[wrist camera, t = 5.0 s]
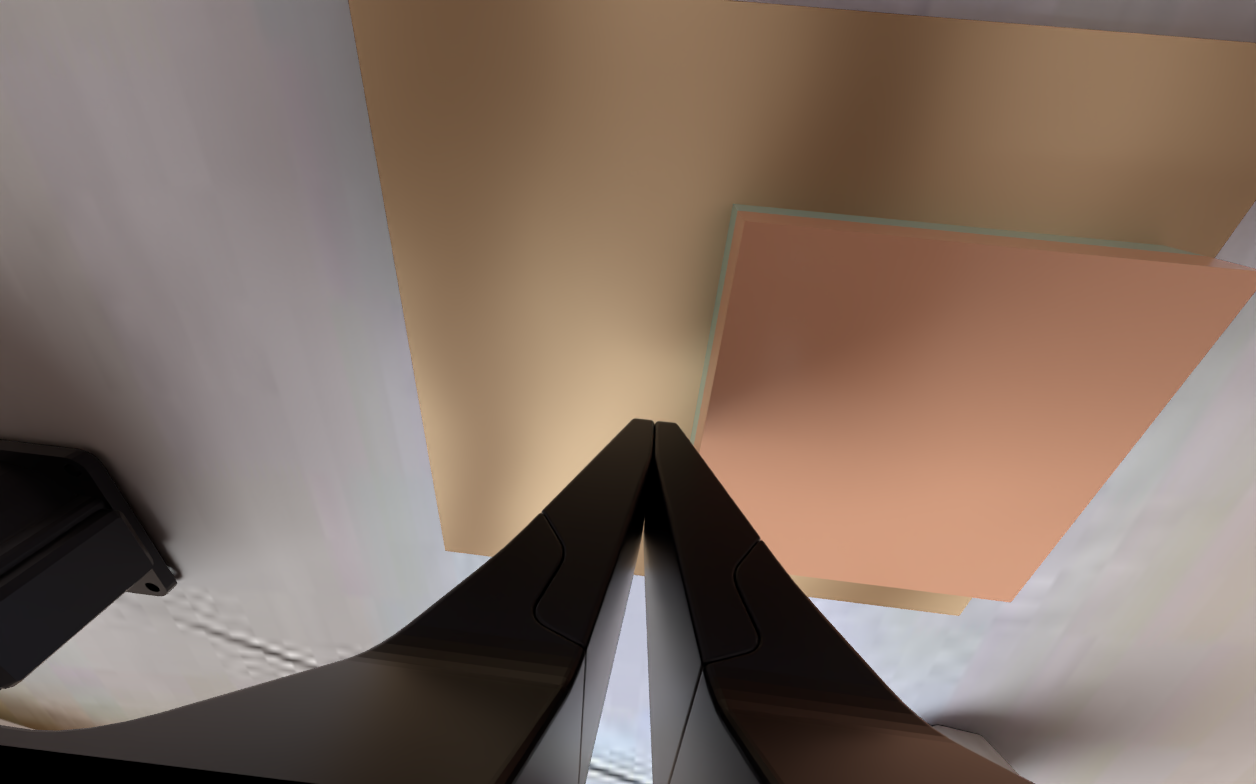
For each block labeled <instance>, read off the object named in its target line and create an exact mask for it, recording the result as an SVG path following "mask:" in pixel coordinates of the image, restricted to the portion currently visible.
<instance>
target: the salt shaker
mask: <svg viewBox="0 0 1256 784" xmlns="http://www.w3.org/2000/svg"><path fill="white" fill-rule="evenodd" d="M932 727H933V728H934V729H936V730H937V731H939V732H940V733H942V734H943V735H945V736H946V737H948V738H949V739H951V740H953V741H955V742H957V743H958V744H960V745H962V746H964V747H966V748H968V749H970V750H972V751H974V752H975V753H977V754H979V755H981V756H983V757H985V758H987V759H989V760H991V761H993V762H995V763H997V764H998V765H1000V766H1002V767H1004V768H1006V769H1008V770H1010V771H1012V772H1014V773H1016V774H1018V773H1017V772H1016V771H1015V770H1014V769H1013V768H1012V767H1011V766H1010V765H1009V764H1008V763H1007V762H1006V761H1005V760H1004V759H1003V758H1002V757H1001V755H1000V754H999V753H998V752H997V751H996V750H995V749H994V748H993V747H992V746H991V745H990V744H989V743H988V742H987V741H986V740H985V739H984V738H983V737H982V736H981V735H978V734H974V733H969V732H965V731H961V730H957V729H953V728H949V727H945V726H940V725H936V726H932ZM1018 775H1019V774H1018Z"/></svg>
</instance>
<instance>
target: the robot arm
mask: <svg viewBox="0 0 1256 784" xmlns="http://www.w3.org/2000/svg"><path fill="white" fill-rule="evenodd" d="M644 518H645V519H644ZM643 526H644V533H643ZM642 533H643V548H644V573H645V598H646V624H647V649H648V674H649V699H650V724H651V749H652V774H653V784H1035V783H1033V782H1031V781H1029V780H1027V779H1025V778H1023V777H1021V776H1020V775H1018V774H1016V773H1014V772H1012V771H1010V770H1008V769H1006V768H1004V767H1002V766H1000V765H998V764H997V763H995V762H993V761H991V760H989V759H987V758H985V757H983V756H981V755H979V754H977V753H975V752H974V751H972V750H970V749H968V748H966V747H964V746H962V745H960V744H958V743H957V742H955V741H953V740H951V739H949V738H948V737H946V736H945V735H943V734H942V733H940V732H939V731H937V730H936V729H934V728H933V727H932V726H930V725H929V724H928V723H927V722H925V721H924V720H923V719H921V718H920V717H919V716H918V715H917V714H916V713H914V712H913V711H912V710H911V709H910V708H909V707H908V706H907V705H906V704H905V703H903V702H902V701H901V700H900V699H899V697H898V696H897V695H896V694H895V693H894V692H893V691H892V690H891V689H890V688H889V687H888V686H887V685H886V684H885V683H884V682H883V680H882V679H881V678H880V677H879V676H878V675H877V674H876V673H875V672H874V670H873V669H872V668H871V667H870V666H869V665H868V664H867V663H866V662H865V661H864V659H863V658H862V657H861V656H860V655H859V654H858V653H857V652H856V651H855V650H854V648H853V647H852V646H851V645H850V644H849V643H848V642H847V641H846V640H845V638H844V637H843V636H842V635H841V634H840V633H839V632H838V631H837V630H836V629H835V627H834V626H833V625H832V624H831V623H830V622H829V621H828V620H827V619H826V617H825V616H824V615H823V614H822V613H821V612H820V611H819V610H818V608H817V607H816V606H815V605H814V604H813V603H812V602H811V600H810V599H809V598H808V597H807V596H806V595H805V593H804V592H803V591H802V590H801V589H800V588H799V587H798V585H797V584H796V583H795V582H794V581H793V579H792V578H791V577H790V575H789V574H788V573H787V572H786V570H785V569H784V568H783V566H782V565H781V564H780V563H779V561H778V560H777V559H776V557H775V556H774V555H773V553H772V552H771V551H770V549H769V548H768V547H767V545H766V544H765V542H764V541H763V540H761V538H760V536H759V535H758V533H757V532H756V530H755V529H754V528H753V526H752V525H751V524H750V522H749V521H748V520H747V518H746V517H745V515H744V514H743V513H742V511H741V510H740V509H739V507H738V506H737V504H736V503H735V502H734V500H733V499H732V498H731V496H730V495H729V494H728V492H727V491H726V489H725V488H724V487H723V485H722V484H721V483H720V481H719V480H718V479H717V477H716V476H715V474H714V473H713V472H712V470H711V469H710V468H709V466H708V465H707V464H706V462H705V461H704V459H703V458H702V457H701V455H700V454H699V453H698V451H697V450H696V449H695V447H694V446H693V444H692V443H691V442H690V440H689V439H688V438H687V436H686V435H685V433H684V432H683V431H682V429H681V428H680V427H679V425H678V424H677V423H674V422H664V421H657V422H656V423H655V424H654V421H652V420H647V419H638V418H634V419H632V420H631V421H630V422H629V423H628V424H627V425H626V426H625V427H624V428H623V429H622V430H621V431H620V432H619V433H618V434H617V435H616V436H615V437H614V438H613V439H612V440H611V441H610V442H609V443H608V444H607V445H606V446H605V447H604V448H603V449H602V450H601V451H600V452H599V453H598V454H597V455H596V456H595V457H594V458H593V459H592V460H591V462H590V463H589V464H588V465H587V466H586V467H585V468H584V469H583V470H582V471H581V472H580V473H579V474H578V475H577V476H576V477H575V478H574V479H573V480H572V481H571V482H570V483H569V484H568V485H567V486H566V487H565V488H564V489H563V490H562V491H561V492H560V493H559V494H558V495H557V496H556V497H555V498H554V499H553V500H552V501H551V502H550V503H549V504H548V505H547V506H546V507H545V508H544V509H543V510H542V512H541V513H539V514H538V515H537V516H536V517H535V518H534V519H533V520H532V521H531V522H530V523H529V524H528V525H527V526H526V527H525V528H524V529H523V530H522V531H521V532H520V533H519V534H518V535H517V536H515V537H514V538H513V539H512V540H511V541H510V542H509V543H508V544H507V545H506V546H505V547H504V548H502V549H501V550H500V551H499V552H498V553H496V554H495V555H494V556H493V557H492V558H490V559H489V560H488V561H487V562H486V563H485V564H483V565H482V566H481V567H480V568H479V569H477V570H476V571H475V572H474V573H472V574H471V575H470V576H468V577H467V578H466V579H465V580H463V581H462V582H461V583H460V584H458V585H457V586H456V587H455V588H453V589H452V590H451V591H450V592H448V593H447V594H446V595H445V596H443V597H442V598H441V599H439V600H438V601H437V602H436V603H434V604H433V605H432V606H431V607H429V608H428V609H427V610H426V611H424V612H423V613H422V614H421V615H419V616H418V617H417V618H416V619H414V620H413V621H412V622H410V623H409V624H408V625H407V626H405V627H404V628H402V629H401V630H400V631H398V632H397V633H396V634H394V635H393V636H391V637H390V638H388V639H386V640H385V641H383V642H382V643H380V644H378V645H376V646H374V647H373V648H371V649H369V650H367V651H365V652H363V653H360V654H358V655H356V656H353V657H350V658H347V659H344V660H341V661H338V662H334V663H331V664H327V665H324V666H320V667H317V668H314V669H310V670H307V671H303V672H300V673H296V674H293V675H289V676H286V677H282V678H279V679H276V680H272V681H269V682H265V683H262V684H258V685H255V686H251V687H248V688H245V689H241V690H238V691H234V692H231V693H227V694H224V695H220V696H217V697H213V698H210V699H207V700H203V701H200V702H196V703H193V704H189V705H186V706H182V707H179V708H175V709H172V710H169V711H165V712H162V713H158V714H154V715H150V716H146V717H142V718H138V719H134V720H130V721H126V722H121V723H115V724H109V725H104V726H98V727H93V728H84V729H73V730H61V731H48V730H30V729H23V728H16V727H9V726H2V725H0V784H585V783H586V779H587V774H588V770H589V766H590V761H591V757H592V753H593V748H594V744H595V740H596V735H597V731H598V727H599V722H600V718H601V714H602V709H603V705H604V701H605V696H606V692H607V688H608V683H609V679H610V675H611V670H612V666H613V662H614V657H615V653H616V649H617V644H618V640H619V636H620V631H621V627H622V623H623V618H624V614H625V610H626V605H627V601H628V597H629V592H630V588H631V584H632V579H633V575H634V570H635V566H636V562H637V557H638V553H639V549H640V544H641V539H642ZM176 584H177V582H176V579H175V578H174V576H173V574H172V573H171V571H170V570H169V568H168V567H167V565H166V563H165V562H164V560H163V559H162V557H161V556H160V554H159V552H158V551H157V549H156V548H155V546H154V545H153V543H152V541H151V540H150V538H149V537H148V535H147V534H146V532H145V530H144V529H143V527H142V526H141V524H140V522H139V521H138V519H137V518H136V516H135V515H134V513H133V511H132V510H131V508H130V507H129V505H128V504H127V502H126V500H125V499H124V497H123V496H122V494H121V493H120V491H119V489H118V488H117V486H116V485H115V483H114V482H113V480H112V478H111V477H110V475H109V474H108V472H107V470H106V469H105V467H104V466H103V464H102V463H101V462H100V461H99V459H97V458H96V457H95V456H93V455H92V454H90V453H88V452H86V451H83V450H79V449H72V448H63V447H55V446H47V445H39V444H31V443H22V442H14V441H6V440H0V690H1V689H2V688H4V689H6V688H10V687H13V686H15V685H16V684H18V683H19V682H21V681H22V680H23V679H24V678H26V677H27V676H28V675H29V674H30V673H31V672H33V671H34V670H35V669H36V668H37V667H38V666H40V665H41V664H42V663H43V662H44V661H45V660H47V659H48V658H49V657H50V656H51V655H52V654H54V653H55V652H56V651H57V650H58V649H59V648H61V647H62V646H63V645H64V644H65V643H66V642H68V641H69V640H70V639H71V638H72V637H73V636H75V635H76V634H77V633H78V632H79V631H80V630H82V629H83V628H84V627H85V626H86V625H87V624H89V623H90V622H91V621H92V620H93V619H94V618H96V617H97V616H98V615H99V614H100V613H101V612H103V611H104V610H105V609H106V608H107V607H108V606H110V605H111V604H112V603H113V602H114V601H115V600H117V599H118V598H119V597H120V596H121V595H122V594H124V593H125V592H131V593H138V594H146V595H153V596H165V595H166V594H167V593H169V592H170V591H171V590H172V589H173V588H174V587H175V586H176Z"/></svg>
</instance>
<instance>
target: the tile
mask: <svg viewBox="0 0 1256 784" xmlns="http://www.w3.org/2000/svg"><path fill="white" fill-rule="evenodd" d="M1255 291H1256V269H1255V268H1251V267H1247V266H1243V265H1239V264H1235V263H1231V262H1227V261H1223V260H1219V259H1215V258H1211V257H1208V256H1204V255H1200V254H1196V253H1192V252H1188V251H1184V250H1180V249H1176V248H1172V247H1168V246H1164V245H1155V244H1145V243H1134V242H1124V241H1114V240H1103V239H1093V238H1083V237H1072V236H1062V235H1052V234H1041V233H1031V232H1021V231H1010V230H1000V229H990V228H979V227H969V226H959V225H948V224H938V223H928V222H917V221H907V220H897V219H886V218H876V217H866V216H855V215H845V214H835V213H824V212H814V211H804V210H793V209H783V208H773V207H762V206H752V205H742V204H733V206H732V211H731V217H730V222H729V228H728V233H727V239H726V244H725V250H724V255H723V261H722V266H721V272H720V278H719V283H718V289H717V294H716V300H715V305H714V311H713V316H712V322H711V327H710V333H709V338H708V344H707V350H706V355H705V361H704V366H703V372H702V377H701V383H700V388H699V394H698V399H697V405H696V410H695V416H694V422H693V427H692V433H691V438H690V442H691V443H692V444H693V446H694V447H695V449H696V450H697V451H698V453H699V454H700V455H701V457H702V458H703V459H704V461H705V462H706V464H707V465H708V466H709V468H710V469H711V470H712V472H713V473H714V474H715V476H716V477H717V479H718V480H719V481H720V483H721V484H722V485H723V487H724V488H725V489H726V491H727V492H728V494H729V495H730V496H731V498H732V499H733V500H734V502H735V503H736V504H737V506H738V507H739V509H740V510H741V511H742V513H743V514H744V515H745V517H746V518H747V520H748V521H749V522H750V524H751V525H752V526H753V528H754V529H755V530H756V532H757V533H758V535H759V536H760V538H761V540H763V541H764V542H765V544H766V545H767V547H768V548H769V549H770V551H771V552H772V553H773V555H774V556H775V557H776V559H777V560H778V561H779V563H780V564H781V565H782V566H783V568H784V569H785V570H786V572H787V573H788V574H789V575H797V576H805V577H813V578H821V579H829V580H837V581H845V582H853V583H861V584H869V585H877V586H885V587H893V588H901V589H909V590H917V591H925V592H932V593H940V594H948V595H956V596H964V597H972V598H980V599H988V600H996V601H1004V602H1011V601H1012V600H1013V599H1014V598H1015V596H1016V595H1017V594H1018V593H1019V591H1020V590H1021V589H1022V587H1023V586H1024V585H1025V584H1026V582H1027V581H1028V580H1029V579H1030V577H1031V576H1032V575H1033V574H1034V572H1035V571H1036V570H1037V568H1038V567H1039V566H1040V565H1041V563H1042V562H1043V561H1044V560H1045V558H1046V557H1047V556H1048V554H1049V553H1050V552H1051V551H1052V549H1053V548H1054V547H1055V546H1056V544H1057V543H1058V542H1059V540H1060V539H1061V538H1062V537H1063V535H1064V534H1065V533H1066V532H1067V530H1068V529H1069V528H1070V526H1071V525H1072V524H1073V523H1074V521H1075V520H1076V519H1077V518H1078V516H1079V515H1080V514H1081V513H1082V511H1083V510H1084V509H1085V507H1086V506H1087V505H1088V504H1089V502H1090V501H1091V500H1092V499H1093V497H1094V496H1095V495H1096V493H1097V492H1098V491H1099V490H1100V488H1101V487H1102V486H1103V485H1104V483H1105V482H1106V481H1107V479H1108V478H1109V477H1110V476H1111V474H1112V473H1113V472H1114V471H1115V469H1116V468H1117V467H1118V465H1119V464H1120V463H1121V462H1122V460H1123V459H1124V458H1125V457H1126V455H1127V454H1128V453H1129V452H1130V450H1131V449H1132V448H1133V446H1134V445H1135V444H1136V443H1137V441H1138V440H1139V439H1140V438H1141V436H1142V435H1143V434H1144V432H1145V431H1146V430H1147V429H1148V427H1149V426H1150V425H1151V424H1152V422H1153V421H1154V420H1155V418H1156V417H1157V416H1158V415H1159V413H1160V412H1161V411H1162V410H1163V408H1164V407H1165V406H1166V404H1167V403H1168V402H1169V401H1170V399H1171V398H1172V397H1173V396H1174V394H1175V393H1176V392H1177V390H1178V389H1179V388H1180V387H1181V385H1182V384H1183V383H1184V382H1185V380H1186V379H1187V378H1188V377H1189V375H1190V374H1191V373H1192V371H1193V370H1194V369H1195V368H1196V366H1197V365H1198V364H1199V363H1200V361H1201V360H1202V359H1203V357H1204V356H1205V355H1206V354H1207V352H1208V351H1209V350H1210V349H1211V347H1212V346H1213V345H1214V343H1215V342H1216V341H1217V340H1218V338H1219V337H1220V336H1221V335H1222V333H1223V332H1224V331H1225V329H1226V328H1227V327H1228V326H1229V324H1230V323H1231V322H1232V321H1233V319H1234V318H1235V317H1236V316H1237V314H1238V313H1239V312H1240V310H1241V309H1242V308H1243V307H1244V305H1245V304H1246V303H1247V302H1248V300H1249V299H1250V298H1251V296H1252V295H1253V294H1254V293H1255Z"/></svg>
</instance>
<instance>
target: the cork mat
mask: <svg viewBox="0 0 1256 784" xmlns="http://www.w3.org/2000/svg"><path fill="white" fill-rule="evenodd" d="M348 2H349V8H350V14H351V19H352V25H353V31H354V36H355V42H356V48H357V53H358V59H359V64H360V70H361V76H362V81H363V87H364V93H365V98H366V104H367V110H368V115H369V121H370V127H371V132H372V138H373V144H374V149H375V155H376V161H377V166H378V172H379V178H380V183H381V189H382V195H383V200H384V206H385V212H386V217H387V223H388V229H389V234H390V240H391V246H392V251H393V257H394V263H395V268H396V274H397V280H398V285H399V291H400V296H401V302H402V308H403V313H404V319H405V325H406V330H407V336H408V342H409V347H410V353H411V359H412V364H413V370H414V376H415V381H416V387H417V393H418V398H419V404H420V410H421V415H422V421H423V427H424V432H425V438H426V444H427V449H428V455H429V461H430V466H431V472H432V478H433V483H434V489H435V495H436V500H437V506H438V512H439V517H440V523H441V529H442V534H443V540H444V545H445V551H451V552H459V553H467V554H475V555H483V556H491V557H493V556H494V555H495V554H496V553H498V552H499V551H500V550H501V549H502V548H504V547H505V546H506V545H507V544H508V543H509V542H510V541H511V540H512V539H513V538H514V537H515V536H517V535H518V534H519V533H520V532H521V531H522V530H523V529H524V528H525V527H526V526H527V525H528V524H529V523H530V522H531V521H532V520H533V519H534V518H535V517H536V516H537V515H538V514H539V513H541V512H542V510H543V509H544V508H545V507H546V506H547V505H548V504H549V503H550V502H551V501H552V500H553V499H554V498H555V497H556V496H557V495H558V494H559V493H560V492H561V491H562V490H563V489H564V488H565V487H566V486H567V485H568V484H569V483H570V482H571V481H572V480H573V479H574V478H575V477H576V476H577V475H578V474H579V473H580V472H581V471H582V470H583V469H584V468H585V467H586V466H587V465H588V464H589V463H590V462H591V460H592V459H593V458H594V457H595V456H596V455H597V454H598V453H599V452H600V451H601V450H602V449H603V448H604V447H605V446H606V445H607V444H608V443H609V442H610V441H611V440H612V439H613V438H614V437H615V436H616V435H617V434H618V433H619V432H620V431H621V430H622V429H623V428H624V427H625V426H626V425H627V424H628V423H629V422H630V421H631V420H632V419H634V418H638V419H647V420H652V421H654V424H655V423H656V422H657V421H664V422H674V423H677V424H678V425H679V427H680V428H681V429H682V431H683V432H684V433H685V435H686V436H687V438H688V439H689V440H690V438H691V433H692V427H693V422H694V416H695V410H696V405H697V399H698V394H699V388H700V383H701V377H702V372H703V366H704V361H705V355H706V350H707V344H708V338H709V333H710V327H711V322H712V316H713V311H714V305H715V300H716V294H717V289H718V283H719V278H720V272H721V266H722V261H723V255H724V250H725V244H726V239H727V233H728V228H729V222H730V217H731V211H732V206H733V204H742V205H752V206H762V207H773V208H783V209H793V210H804V211H814V212H824V213H835V214H845V215H855V216H866V217H876V218H886V219H897V220H907V221H917V222H928V223H938V224H948V225H959V226H969V227H979V228H990V229H1000V230H1010V231H1021V232H1031V233H1041V234H1052V235H1062V236H1072V237H1083V238H1093V239H1103V240H1114V241H1124V242H1134V243H1145V244H1155V245H1164V246H1168V247H1172V248H1176V249H1180V250H1184V251H1188V252H1192V253H1196V254H1200V255H1204V256H1208V257H1211V258H1215V257H1216V255H1217V254H1218V253H1219V251H1220V250H1221V248H1222V247H1223V246H1224V244H1225V243H1226V241H1227V240H1228V239H1229V237H1230V236H1231V234H1232V233H1233V232H1234V230H1235V229H1236V227H1237V226H1238V225H1239V223H1240V222H1241V220H1242V219H1243V218H1244V216H1245V215H1246V213H1247V212H1248V211H1249V209H1250V208H1251V206H1252V205H1253V204H1254V202H1255V201H1256V43H1251V42H1238V41H1226V40H1213V39H1201V38H1189V37H1176V36H1164V35H1152V34H1139V33H1127V32H1115V31H1102V30H1090V29H1077V28H1065V27H1053V26H1040V25H1028V24H1016V23H1003V22H991V21H979V20H966V19H954V18H941V17H929V16H917V15H904V14H892V13H880V12H867V11H855V10H843V9H830V8H818V7H805V6H793V5H781V4H768V3H756V2H744V1H731V0H348ZM644 519H645V518H644ZM643 533H644V526H643ZM643 533H642V539H641V544H640V549H639V553H638V557H637V562H636V566H635V570H634V575H641V576H645V573H644V548H643ZM790 577H791V578H792V579H793V581H794V582H795V583H796V584H797V585H798V587H799V588H800V589H801V590H802V591H803V592H804V593H805V595H806V596H807V597H814V598H822V599H830V600H838V601H846V602H854V603H862V604H869V605H877V606H885V607H893V608H901V609H909V610H917V611H925V612H933V613H940V614H948V615H956V616H959V615H960V614H961V613H962V611H963V610H964V608H965V607H966V606H967V604H968V603H969V601H970V600H971V599H972V597H964V596H956V595H948V594H940V593H932V592H925V591H917V590H909V589H901V588H893V587H885V586H877V585H869V584H861V583H853V582H845V581H837V580H829V579H821V578H813V577H805V576H797V575H790Z"/></svg>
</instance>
